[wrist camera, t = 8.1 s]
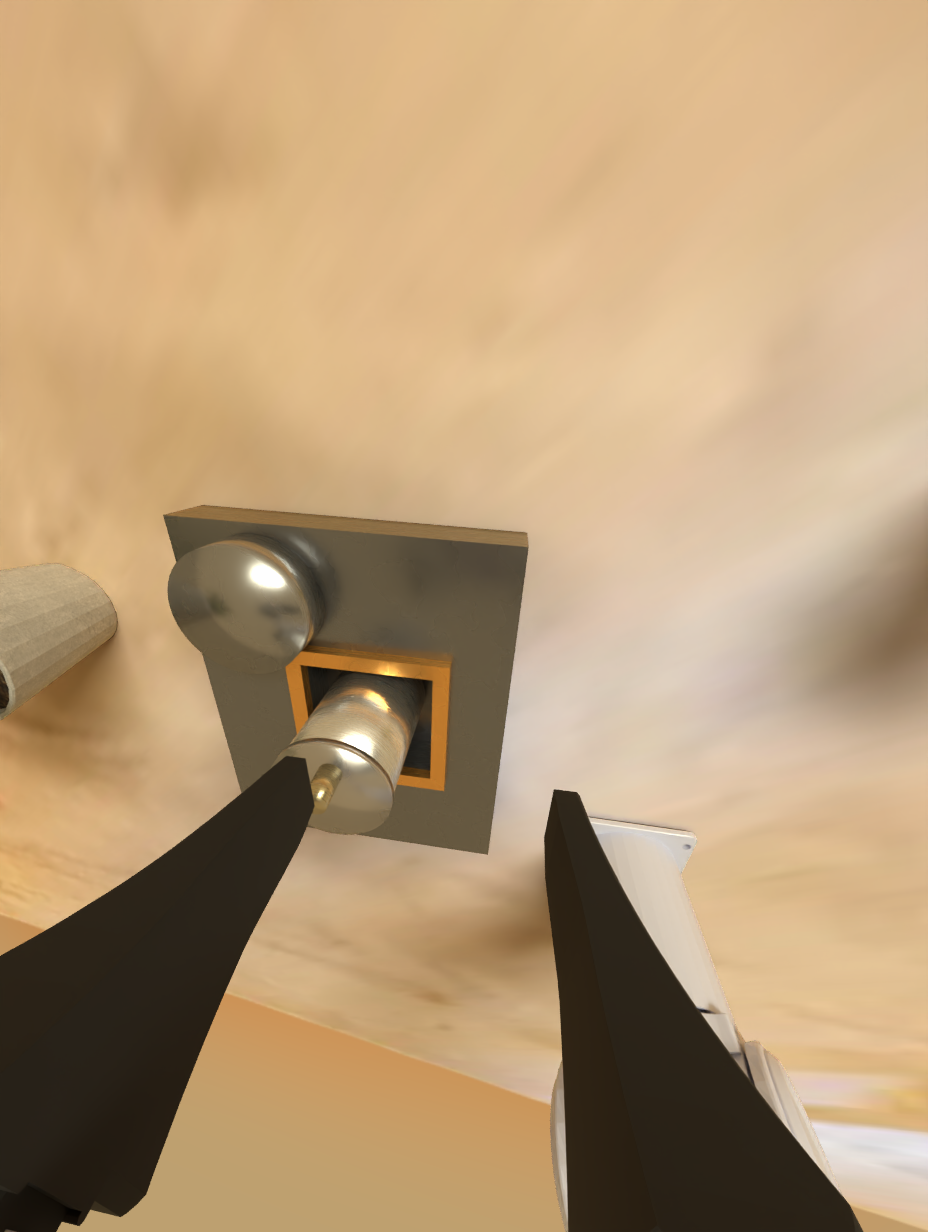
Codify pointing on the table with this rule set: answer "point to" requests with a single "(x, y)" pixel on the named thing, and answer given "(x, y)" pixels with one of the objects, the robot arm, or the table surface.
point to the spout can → (358, 748)
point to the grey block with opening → (358, 643)
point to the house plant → (47, 627)
